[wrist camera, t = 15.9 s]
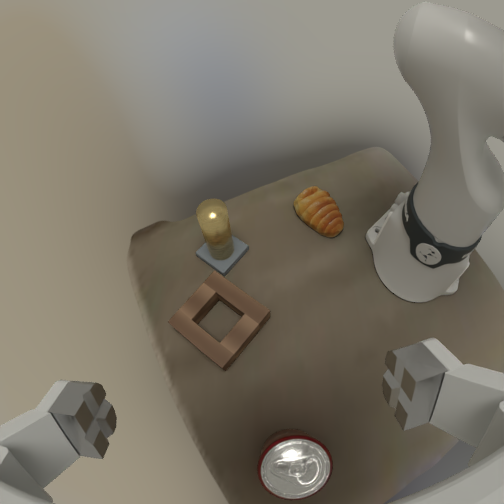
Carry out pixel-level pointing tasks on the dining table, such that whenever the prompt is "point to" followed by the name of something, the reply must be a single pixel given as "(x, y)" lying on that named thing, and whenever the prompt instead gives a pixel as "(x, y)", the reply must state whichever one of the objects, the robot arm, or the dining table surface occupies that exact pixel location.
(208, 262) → the mat
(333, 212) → the pastry
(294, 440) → the soda can
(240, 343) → the wooden square frame
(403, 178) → the dining table surface
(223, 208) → the peg
